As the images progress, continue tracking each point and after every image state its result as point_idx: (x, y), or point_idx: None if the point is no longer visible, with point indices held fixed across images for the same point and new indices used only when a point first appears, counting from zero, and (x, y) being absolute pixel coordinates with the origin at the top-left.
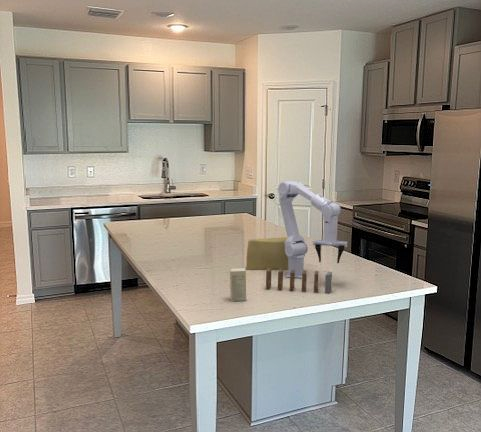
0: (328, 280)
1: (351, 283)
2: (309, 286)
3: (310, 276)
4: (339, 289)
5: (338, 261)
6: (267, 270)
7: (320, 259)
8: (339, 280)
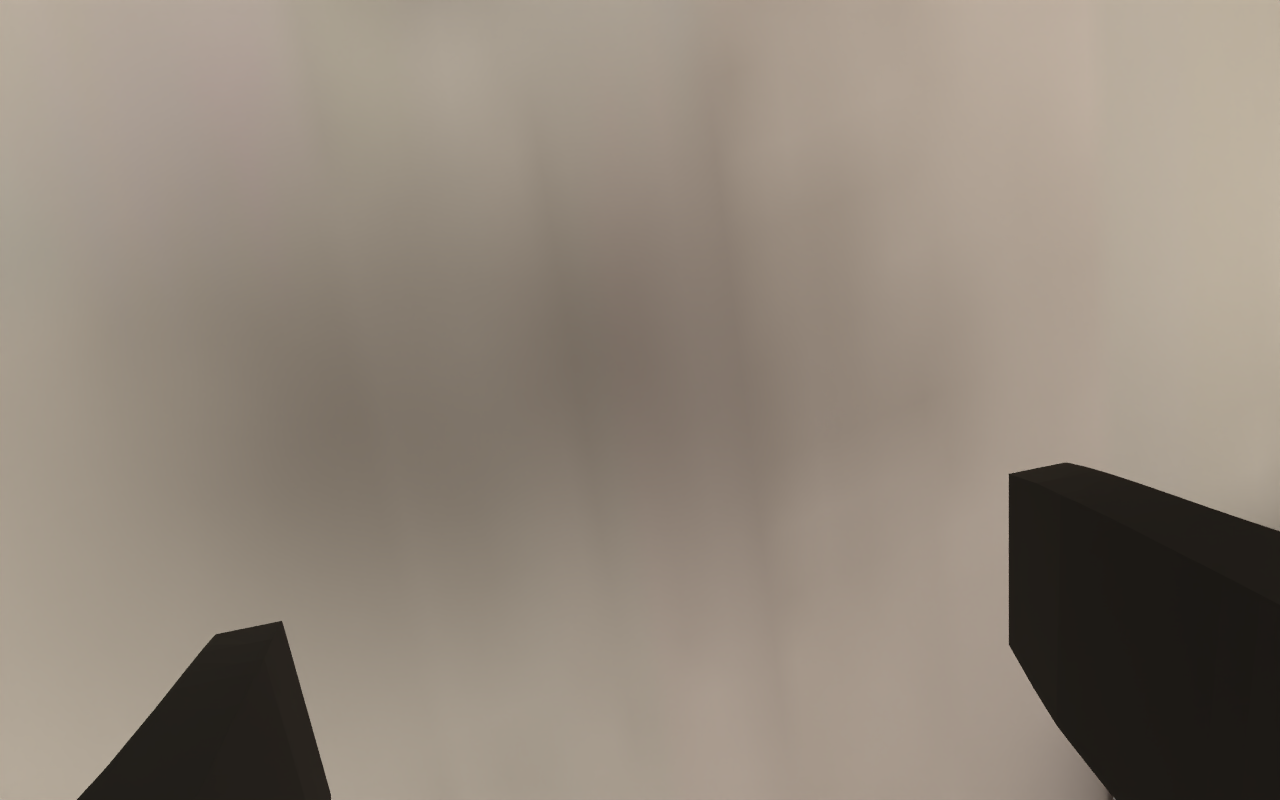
0: None
1: (37, 672)
2: (967, 52)
3: (987, 757)
4: (194, 77)
5: (211, 666)
6: None
7: (1094, 503)
8: (362, 761)
